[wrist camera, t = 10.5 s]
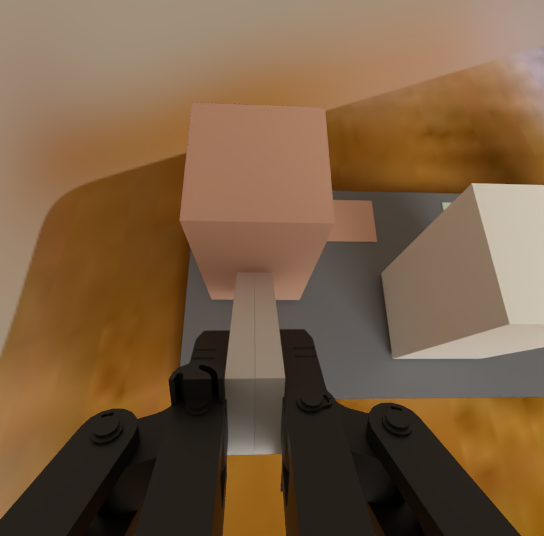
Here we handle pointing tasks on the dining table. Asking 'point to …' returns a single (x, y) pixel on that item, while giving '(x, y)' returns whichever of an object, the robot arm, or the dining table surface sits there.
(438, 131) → the dining table surface
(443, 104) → the dining table surface
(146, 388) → the dining table surface
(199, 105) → the pink tall block
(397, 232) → the grey board
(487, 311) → the cream tall block
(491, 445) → the dining table surface
